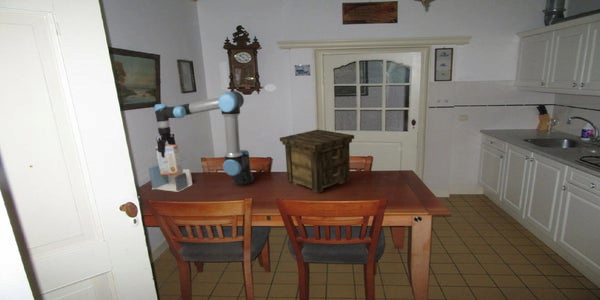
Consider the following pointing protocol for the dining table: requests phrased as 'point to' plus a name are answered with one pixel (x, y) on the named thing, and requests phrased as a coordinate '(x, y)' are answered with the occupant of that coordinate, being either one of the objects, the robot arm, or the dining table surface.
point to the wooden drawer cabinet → (317, 158)
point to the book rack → (166, 179)
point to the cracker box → (170, 161)
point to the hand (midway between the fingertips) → (169, 159)
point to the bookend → (181, 181)
